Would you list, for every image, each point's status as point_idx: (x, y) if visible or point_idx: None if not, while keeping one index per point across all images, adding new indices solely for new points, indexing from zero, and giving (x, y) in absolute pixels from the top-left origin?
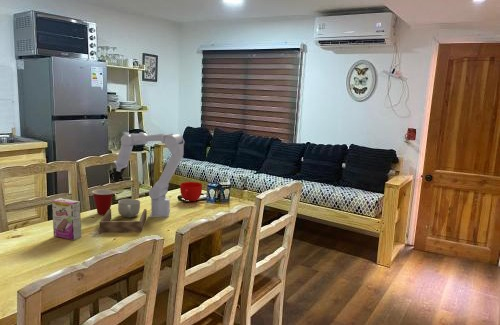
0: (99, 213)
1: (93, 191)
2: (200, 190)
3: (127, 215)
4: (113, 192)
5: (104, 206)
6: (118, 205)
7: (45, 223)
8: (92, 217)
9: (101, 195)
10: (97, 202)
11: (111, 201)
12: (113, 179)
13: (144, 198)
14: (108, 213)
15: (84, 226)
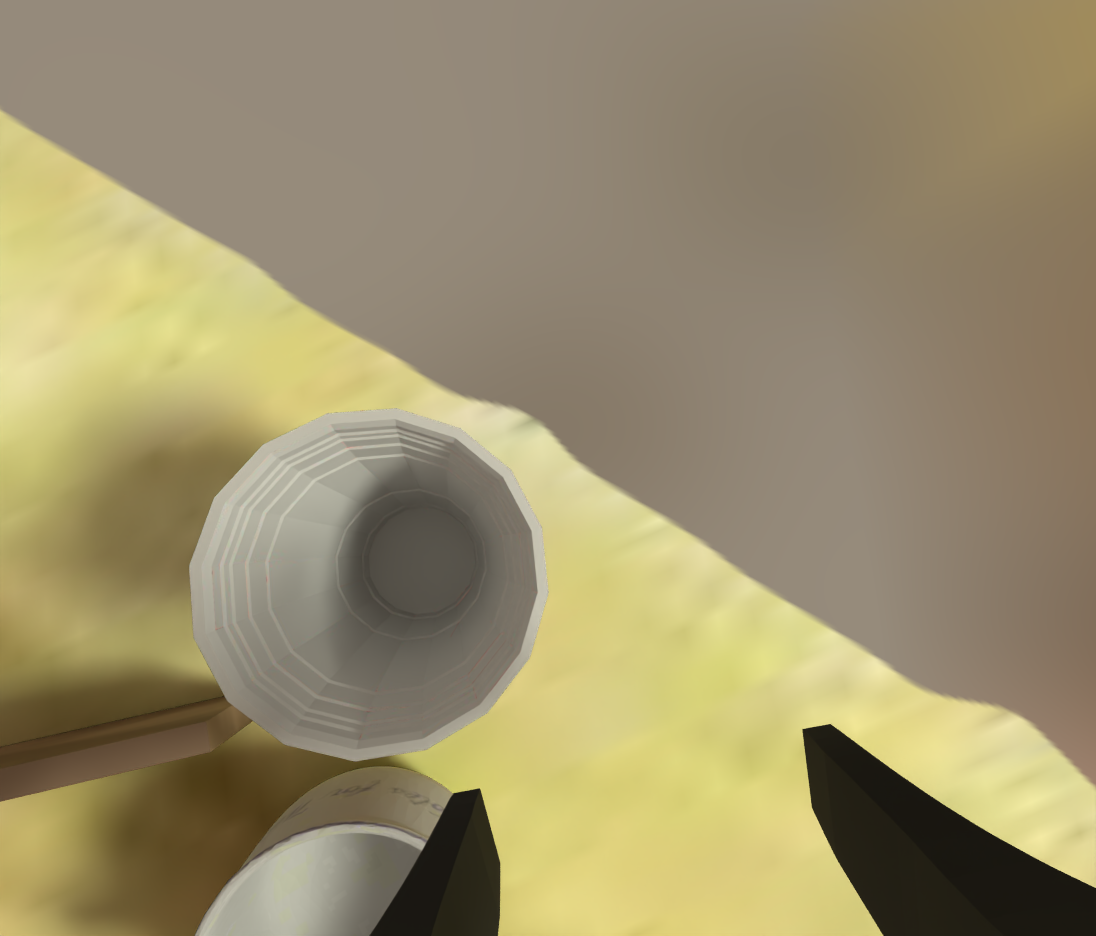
0: (363, 543)
1: (352, 426)
2: None
3: (267, 908)
4: (385, 752)
5: (329, 613)
6: (282, 826)
7: (61, 184)
8: None
9: (222, 617)
10: (300, 534)
11: (426, 666)
12: (434, 827)
13: (1016, 768)
14: (54, 787)
15: (5, 557)
